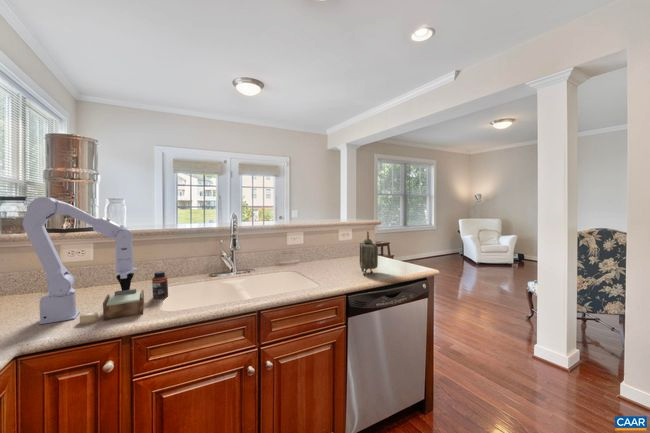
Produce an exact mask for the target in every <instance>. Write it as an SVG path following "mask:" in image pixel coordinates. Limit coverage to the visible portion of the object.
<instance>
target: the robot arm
mask: <svg viewBox="0 0 650 433" xmlns="http://www.w3.org/2000/svg"><path fill="white" fill-rule="evenodd" d="M54 215H58V216H59V215H63V216H69V217H71V218H74V219H76V220H79V221H81V222H83V223H86V224H87V225H90V226H92V230H93V231H94V232H96V233H99V234H101V235H103V236H105V237H107V238H110V239H114V241H115V274H118V275H116V277H115V278H116V280H117V281H118V283H119V284H120V289H121V291H122V290H129V289H131V283H132V279H133V277H134V276H135V273H134V272H135V271H138V268H137V267H135V266H134V247H133V239H134V236H133V232H132V230H130V229H129V228H128V227H124V225H122V224H121V225H119V224H118V223H115V222H113V221H112V219H111V218H109V217H107V218H106V217H99V218H97V217H96V216H93V215H92V214H90V213H88V212H85V211H84V210H82V209H81V208H78V207H76V206H74V205H72V204H70V203H67V202H65V201H62V200H58V199H56V198H55V197H53V196H52V197H51V196H47V197H46V196H40V197H39V196H38V197H36V198H34V199H33V200H31V201H30V203H29V204H27V206H26V212H25V215H24V218H23V221H22V227H23V229H24V232H25V233H26V235H27V237H28V240H29V241H30V244H31V245H32V247H33V249H34V251H35V254H36V255H37V258H38V260H39V262H40V264H41V265H42V268H43V269H44V271H45V280H46V282H47V286H46V289H47V293H48V295H43V296H41V298H40V300H39V304H38V305H39V306H38V307H39V324H40V325H45V324H49V323H51V324H52V323H56V322H61V321H62V322H63V321H68V320H69V321H70V320H75V319H76V318H77V317H78V315H79V313H80V310H77V300H76V299H77V297H76V289H74V288H73V286H74V285H75V283H76V278H75V276H74V275H73V274H72V273H70V272H69V270H68V269H67V267H65V265H63V262H62V260H61V258H60V256H59V254H58V251H57V249H56V247H55V245H54V243H53V241H52V239H51V237H50V235H49V233H48V231H47V229H46V226H45V225H46V224H47V222H48V221H49V220H50V218H52V217H53V216H54Z"/></svg>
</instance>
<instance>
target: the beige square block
mask: <svg viewBox="0 0 650 433" xmlns="http://www.w3.org/2000/svg"><path fill="white" fill-rule="evenodd" d="M98 321H99V313H98V312H96V311H92V312H87V313H86V312H85V313H83V314H81V315H79V324H80V325H82V326H83V325H90V324H94V323H96V322H98Z"/></svg>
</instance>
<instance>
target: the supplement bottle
mask: <svg viewBox="0 0 650 433" xmlns="http://www.w3.org/2000/svg"><path fill="white" fill-rule="evenodd" d="M153 275H154V276H153V278H152V279H151V287H152V298H153V299H155V300H160V299H165V298H167V297H168V296H169V285H168V284H169V283H168V277H167V275H166V273H165V271H163V270H158V271H155V272H154V274H153Z"/></svg>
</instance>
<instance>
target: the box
mask: <svg viewBox="0 0 650 433" xmlns="http://www.w3.org/2000/svg"><path fill="white" fill-rule="evenodd" d="M140 291H141V294H140V301H137V302H130V303H124V304H117V305H110V306H107V302H108V300H109V298H110V294H106V296H105V298H104V300H103V303H102V315H103V317H102V318H103V321H109V320H115V319H120V318H126V317H132V316H139V315H143V314H144V308H145V293H144V292H145V290H144V289H141V290H140Z"/></svg>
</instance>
